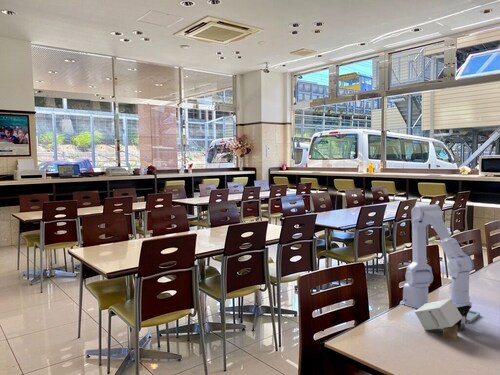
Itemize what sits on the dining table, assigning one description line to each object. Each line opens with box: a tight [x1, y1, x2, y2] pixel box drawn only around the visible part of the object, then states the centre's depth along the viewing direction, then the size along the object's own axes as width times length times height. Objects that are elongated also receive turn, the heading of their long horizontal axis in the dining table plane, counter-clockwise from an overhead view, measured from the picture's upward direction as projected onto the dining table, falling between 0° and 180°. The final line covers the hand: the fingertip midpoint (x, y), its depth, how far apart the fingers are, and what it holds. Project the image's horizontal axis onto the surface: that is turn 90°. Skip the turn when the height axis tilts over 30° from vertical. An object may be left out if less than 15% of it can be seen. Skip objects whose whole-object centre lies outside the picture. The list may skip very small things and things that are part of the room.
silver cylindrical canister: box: [457, 315, 466, 332], centre depth 139 cm, size 4×4×5 cm
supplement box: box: [414, 298, 463, 331], centre depth 136 cm, size 7×7×13 cm
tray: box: [465, 309, 481, 324], centre depth 151 cm, size 11×11×1 cm
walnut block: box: [442, 325, 458, 341], centre depth 133 cm, size 4×4×4 cm
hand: (458, 324), depth 139 cm, fingers closed on silver cylindrical canister, 4 cm apart
